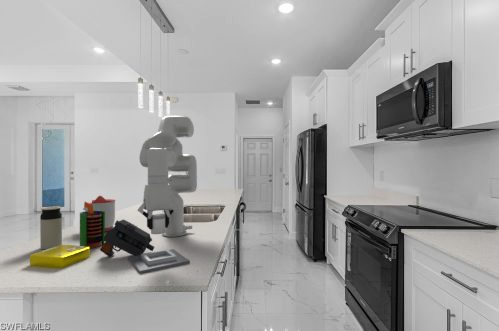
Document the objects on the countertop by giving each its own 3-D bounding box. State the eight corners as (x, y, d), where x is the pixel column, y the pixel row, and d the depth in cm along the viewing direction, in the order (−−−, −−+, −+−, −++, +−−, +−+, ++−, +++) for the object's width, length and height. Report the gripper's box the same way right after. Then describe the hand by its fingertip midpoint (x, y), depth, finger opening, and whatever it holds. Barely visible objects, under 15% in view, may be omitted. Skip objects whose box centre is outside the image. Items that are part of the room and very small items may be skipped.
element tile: (62, 254, 120) (62, 243, 120) (92, 257, 117) (92, 245, 117) (26, 266, 106) (26, 254, 106) (60, 270, 102) (59, 256, 102)
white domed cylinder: (162, 230, 113) (162, 212, 113) (167, 233, 109) (167, 214, 109) (149, 232, 110) (149, 214, 110) (153, 235, 106) (153, 216, 106)
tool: (101, 247, 119) (119, 215, 119) (142, 268, 120) (160, 237, 121) (94, 251, 113) (114, 218, 113) (138, 274, 114) (157, 241, 115)
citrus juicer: (94, 227, 170) (94, 193, 170) (121, 228, 168) (121, 194, 168) (74, 233, 155) (74, 196, 155) (104, 234, 152) (104, 197, 152)
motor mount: (173, 251, 122) (173, 245, 122) (189, 263, 107) (189, 256, 107) (128, 259, 112) (128, 253, 112) (140, 273, 97) (139, 266, 97)
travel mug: (65, 246, 131) (65, 206, 131) (47, 250, 124) (47, 209, 124) (55, 244, 134) (54, 205, 134) (36, 248, 127) (36, 208, 127)
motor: (91, 250, 124) (91, 204, 124) (74, 249, 126) (73, 203, 126) (107, 243, 134) (107, 201, 134) (91, 243, 136) (90, 201, 136)
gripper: (176, 179, 118) (176, 223, 117) (132, 181, 108) (132, 229, 108) (183, 180, 111) (183, 226, 111) (137, 181, 102) (137, 232, 102)
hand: (158, 227), depth 109 cm, fingers closed on white domed cylinder, 5 cm apart
